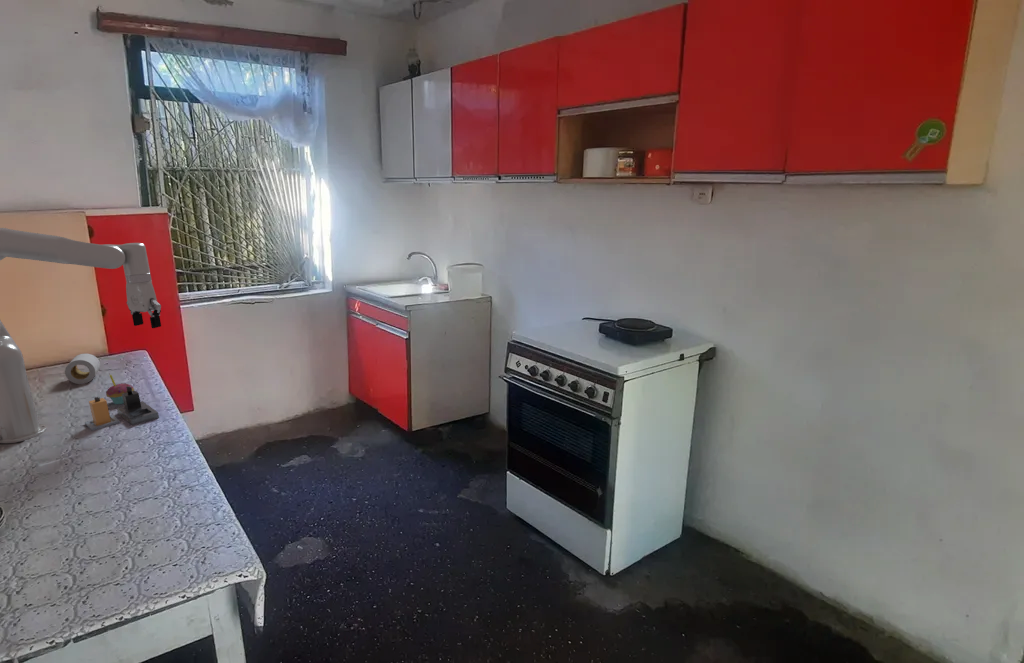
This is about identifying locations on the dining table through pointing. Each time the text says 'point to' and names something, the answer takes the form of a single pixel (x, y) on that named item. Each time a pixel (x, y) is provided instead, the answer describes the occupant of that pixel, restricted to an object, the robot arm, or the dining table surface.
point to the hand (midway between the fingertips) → (147, 326)
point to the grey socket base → (135, 408)
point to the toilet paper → (79, 376)
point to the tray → (94, 427)
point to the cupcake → (117, 391)
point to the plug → (99, 411)
